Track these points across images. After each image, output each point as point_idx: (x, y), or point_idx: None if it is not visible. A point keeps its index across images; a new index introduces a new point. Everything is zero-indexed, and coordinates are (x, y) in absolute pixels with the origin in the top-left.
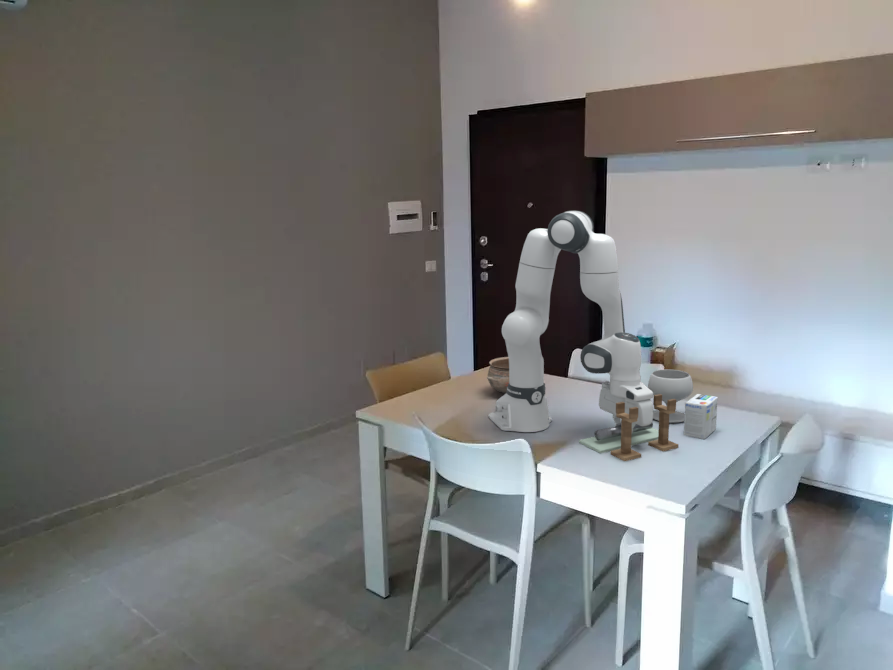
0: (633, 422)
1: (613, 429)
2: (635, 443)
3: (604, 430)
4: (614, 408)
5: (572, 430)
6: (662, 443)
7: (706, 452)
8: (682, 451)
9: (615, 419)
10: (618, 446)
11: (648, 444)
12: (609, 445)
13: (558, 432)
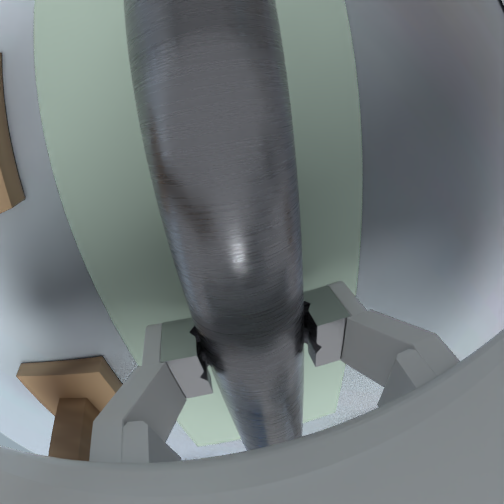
0: (5, 452)
1: (178, 188)
2: (110, 308)
3: (167, 7)
4: (481, 467)
5: (482, 77)
6: (60, 403)
7: (45, 439)
8: (39, 409)
9: (392, 342)
10: (47, 146)
11: (97, 360)
12: (92, 73)
13: (476, 7)
